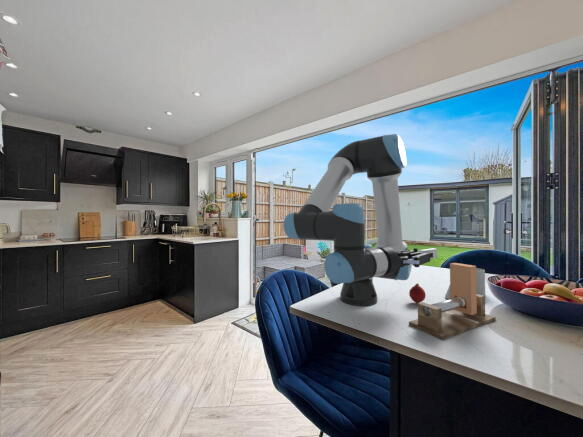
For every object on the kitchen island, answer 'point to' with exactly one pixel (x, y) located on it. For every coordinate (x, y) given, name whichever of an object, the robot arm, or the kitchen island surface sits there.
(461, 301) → the pipe
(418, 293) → the onion
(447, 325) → the rig board
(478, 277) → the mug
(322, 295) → the kitchen island surface
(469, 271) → the upright wooden plank
